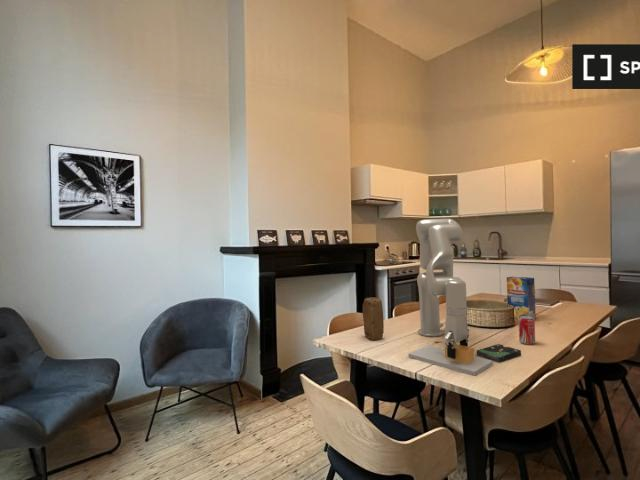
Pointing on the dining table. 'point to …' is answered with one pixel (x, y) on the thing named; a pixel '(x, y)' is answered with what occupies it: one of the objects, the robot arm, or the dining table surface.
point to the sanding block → (462, 354)
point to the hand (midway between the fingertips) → (457, 354)
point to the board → (438, 358)
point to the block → (373, 318)
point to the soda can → (526, 330)
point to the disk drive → (498, 353)
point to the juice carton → (521, 296)
